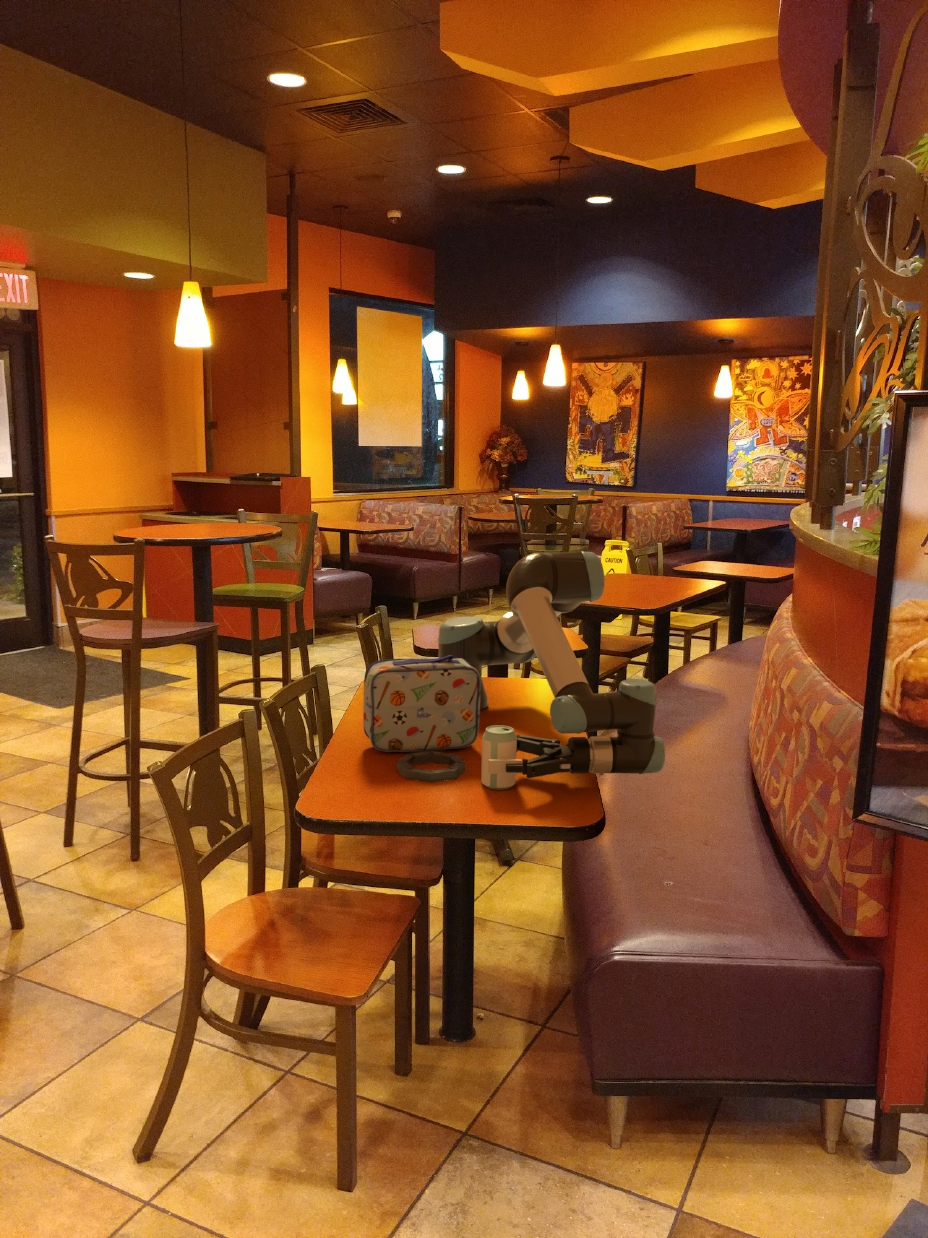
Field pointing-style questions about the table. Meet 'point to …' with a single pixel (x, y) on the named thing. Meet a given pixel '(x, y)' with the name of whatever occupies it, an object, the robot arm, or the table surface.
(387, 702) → the lunch box
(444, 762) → the ring
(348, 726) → the table surface
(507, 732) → the can
